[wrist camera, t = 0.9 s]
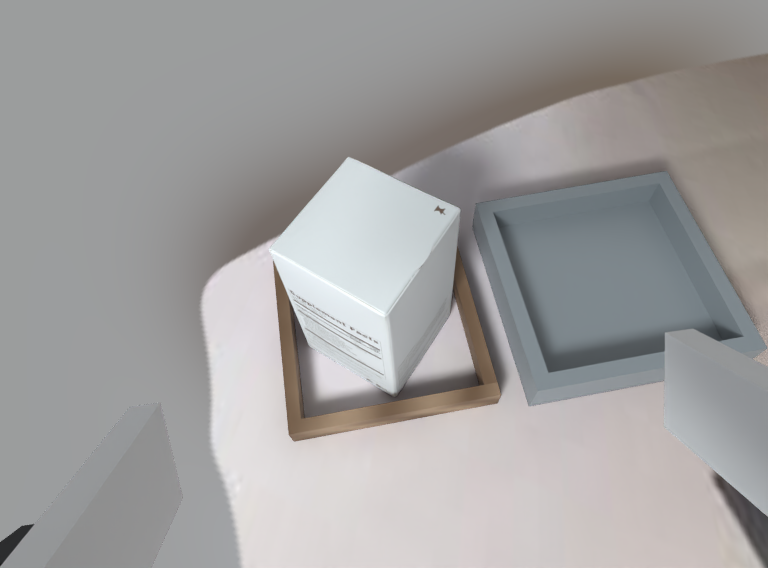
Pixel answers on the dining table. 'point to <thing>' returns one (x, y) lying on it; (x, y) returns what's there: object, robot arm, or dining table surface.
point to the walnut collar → (393, 410)
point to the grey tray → (603, 284)
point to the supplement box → (370, 272)
